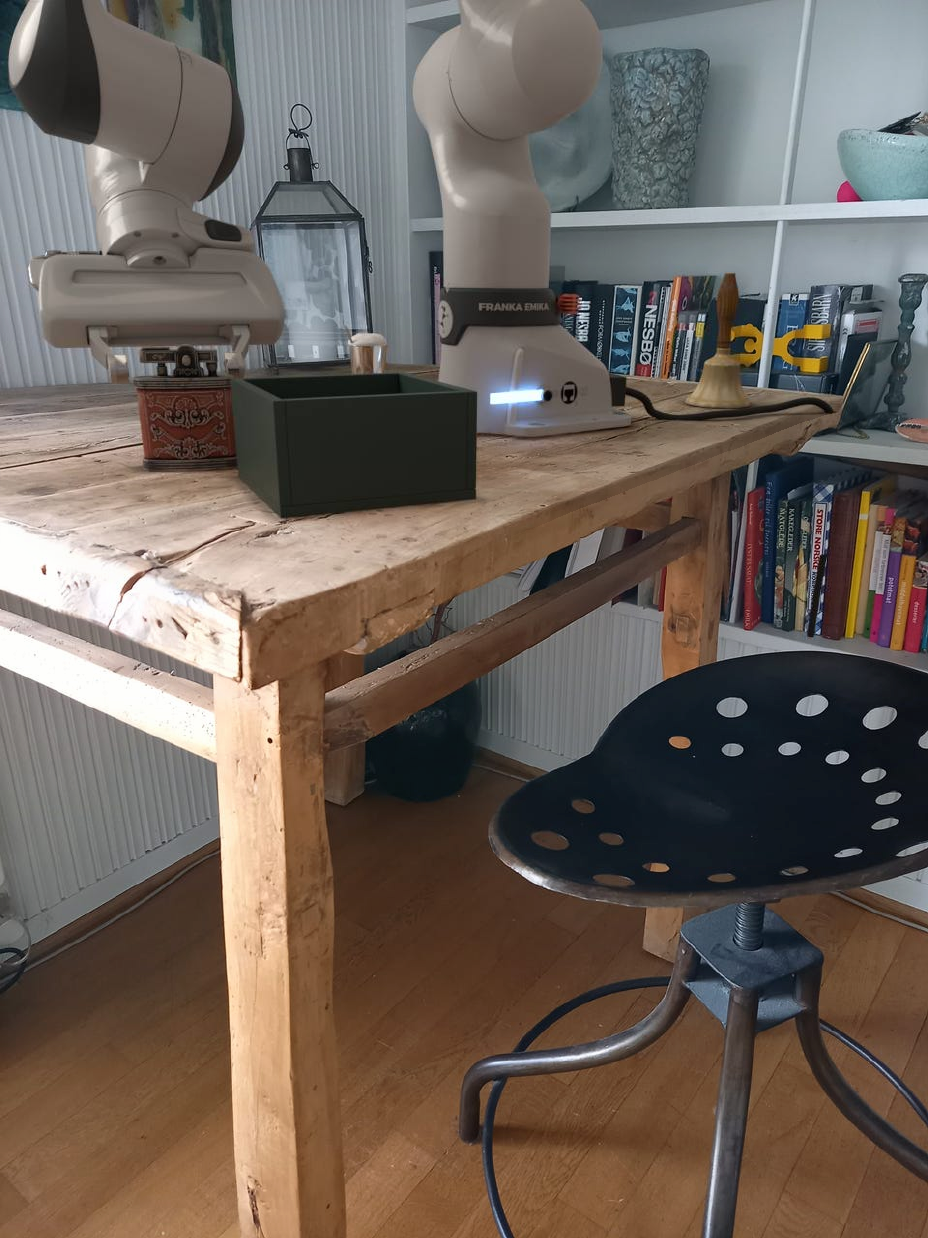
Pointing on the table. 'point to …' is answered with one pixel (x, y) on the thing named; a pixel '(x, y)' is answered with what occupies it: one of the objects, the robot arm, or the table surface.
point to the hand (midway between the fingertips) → (179, 377)
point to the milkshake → (367, 353)
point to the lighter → (185, 411)
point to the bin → (354, 441)
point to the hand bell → (722, 358)
